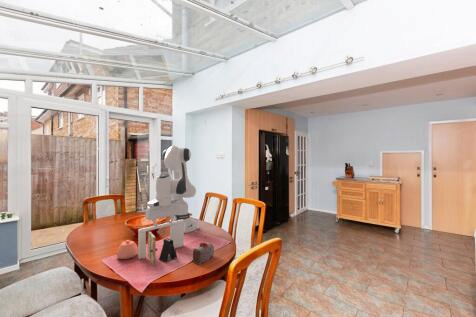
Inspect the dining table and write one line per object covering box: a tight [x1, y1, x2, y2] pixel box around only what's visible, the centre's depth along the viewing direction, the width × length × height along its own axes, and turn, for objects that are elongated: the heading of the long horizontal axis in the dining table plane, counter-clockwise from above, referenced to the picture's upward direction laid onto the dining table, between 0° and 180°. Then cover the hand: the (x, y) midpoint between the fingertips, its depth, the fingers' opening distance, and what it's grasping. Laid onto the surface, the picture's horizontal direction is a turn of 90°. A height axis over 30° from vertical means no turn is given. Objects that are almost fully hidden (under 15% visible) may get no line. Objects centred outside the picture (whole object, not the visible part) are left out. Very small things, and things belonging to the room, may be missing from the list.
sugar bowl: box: [116, 239, 138, 261], centre depth 138 cm, size 12×14×10 cm
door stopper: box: [158, 237, 178, 263], centre depth 135 cm, size 9×6×12 cm, turn 142°
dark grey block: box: [192, 241, 216, 265], centre depth 135 cm, size 14×8×10 cm, turn 151°
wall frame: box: [137, 219, 185, 260], centre depth 145 cm, size 30×2×18 cm, turn 134°
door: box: [147, 230, 158, 266], centre depth 133 cm, size 14×4×16 cm, turn 34°
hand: (163, 224), depth 132 cm, fingers open, 8 cm apart
